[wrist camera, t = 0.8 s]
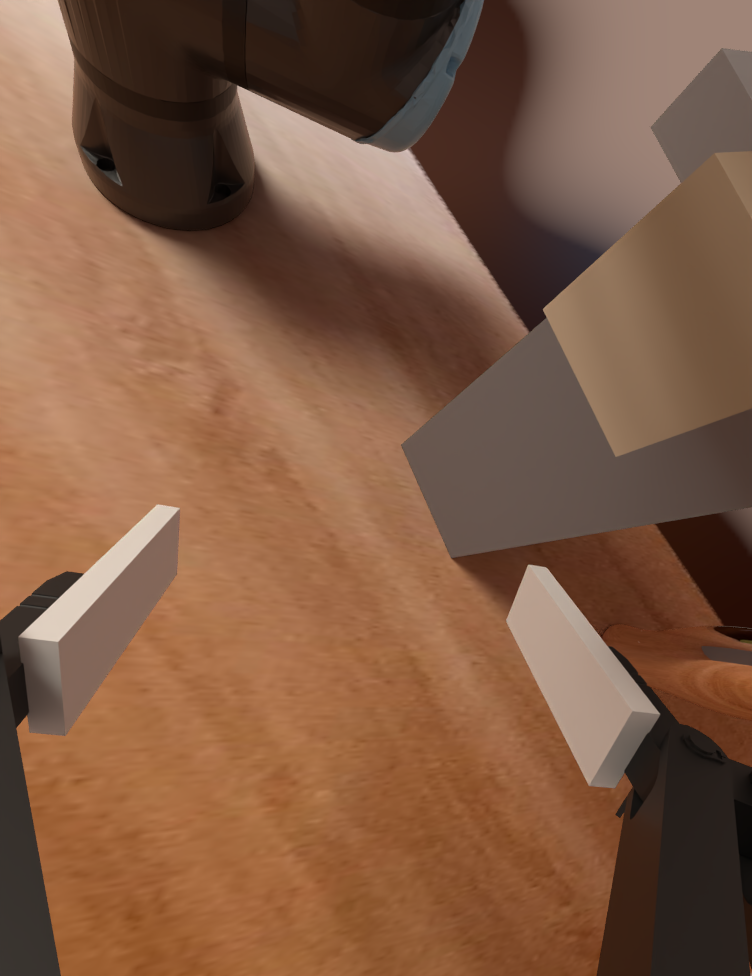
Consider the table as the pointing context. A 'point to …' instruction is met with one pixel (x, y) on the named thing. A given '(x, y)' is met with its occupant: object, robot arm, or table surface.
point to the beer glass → (692, 663)
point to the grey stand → (585, 406)
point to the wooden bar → (668, 313)
